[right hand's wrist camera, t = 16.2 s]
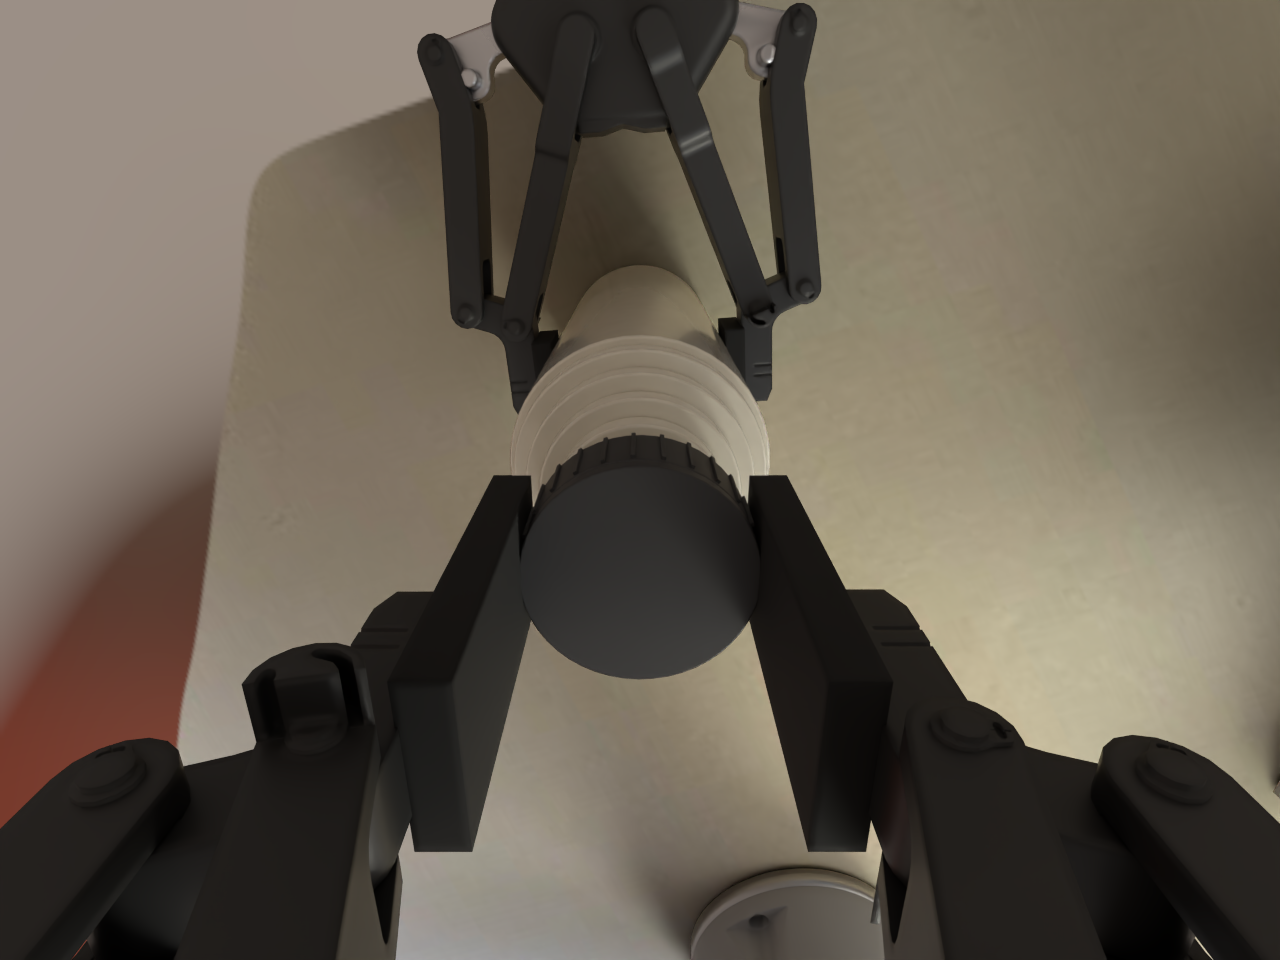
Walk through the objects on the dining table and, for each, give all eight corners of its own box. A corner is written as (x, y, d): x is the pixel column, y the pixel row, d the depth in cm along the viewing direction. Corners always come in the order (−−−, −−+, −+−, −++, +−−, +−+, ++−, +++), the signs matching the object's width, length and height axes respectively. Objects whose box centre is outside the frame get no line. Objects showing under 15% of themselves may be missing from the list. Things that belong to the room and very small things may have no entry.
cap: (486, 553, 15) (466, 598, 13) (620, 383, 14) (617, 411, 12) (656, 665, 16) (658, 720, 14) (797, 519, 15) (817, 561, 13)
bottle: (545, 346, 36) (391, 595, 14) (628, 234, 34) (605, 313, 12) (650, 426, 37) (666, 765, 15) (735, 324, 35) (897, 542, 13)
